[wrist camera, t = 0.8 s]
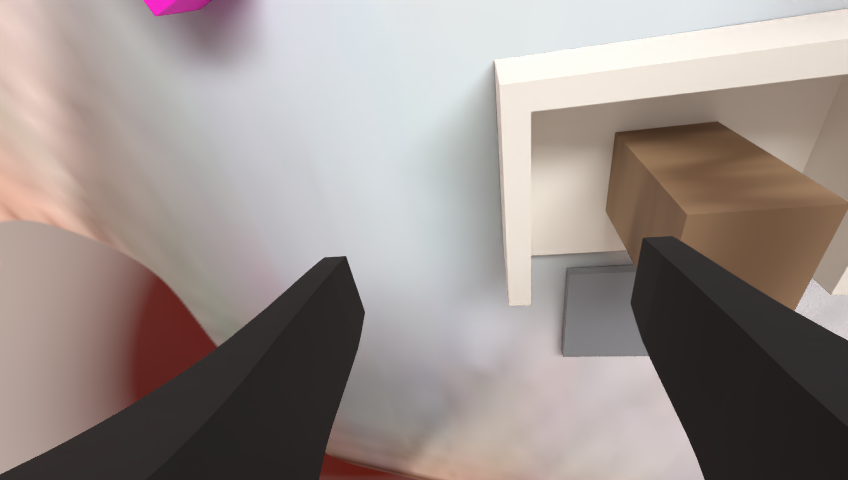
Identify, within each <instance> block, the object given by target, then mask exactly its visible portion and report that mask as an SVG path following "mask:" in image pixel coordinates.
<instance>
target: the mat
mask: <svg viewBox="0 0 848 480" xmlns="http://www.w3.org/2000/svg"><path fill="white" fill-rule="evenodd" d="M636 271H637V268H636V267H635V265H621V266H601V267H580V268H567V276H566V291H565V306H564V321H563V336H562V353H563V357H581V356H649V355H648V353H647V350H646V348H645V346H644V344H643V342H642V339H641V336H640V333H639V330H638V327H637V324H636V320H635V317H634V314H633V310H632V307H631V304H630V302H631V297H632V292H633V286H634V281H635V276H636Z"/></svg>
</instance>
